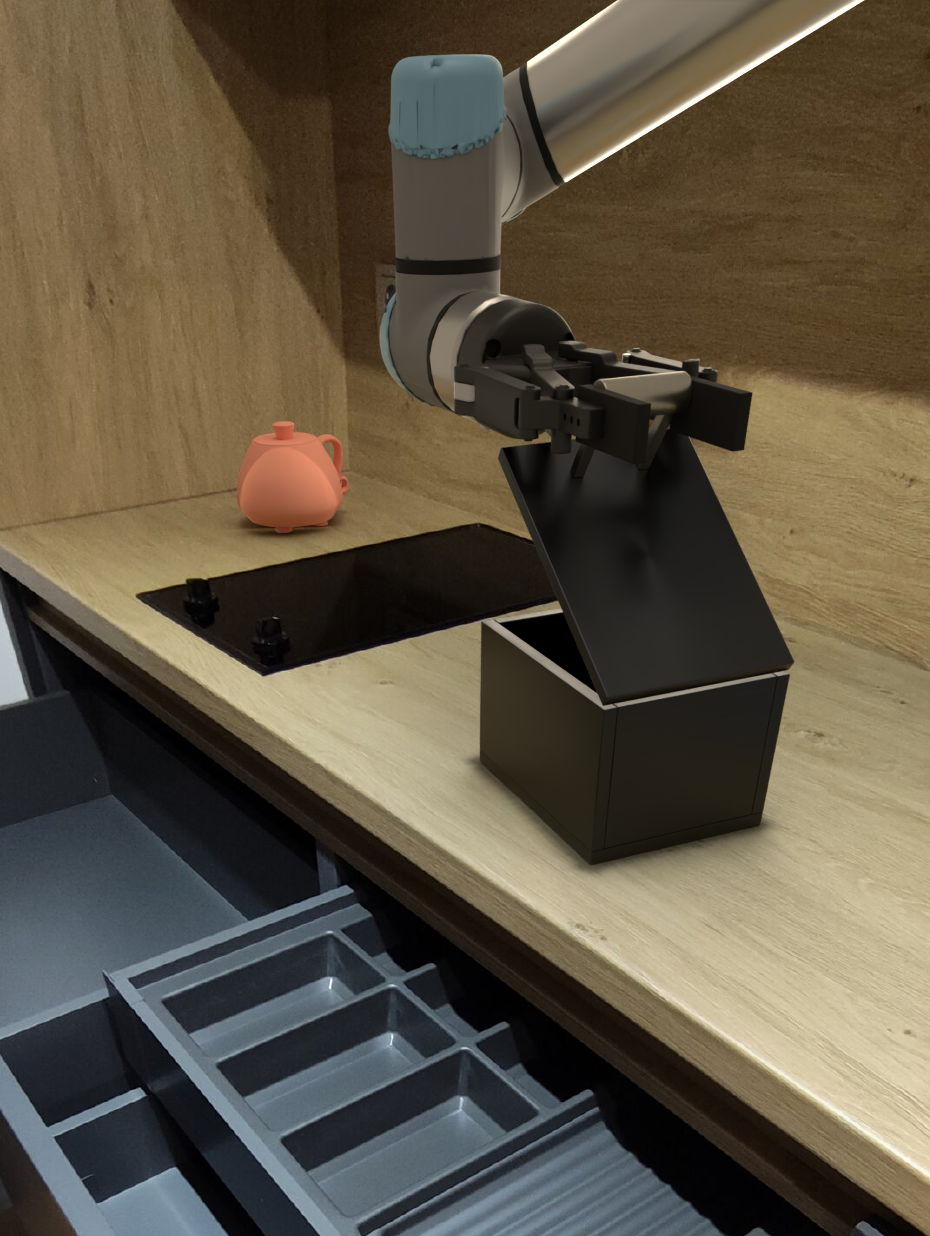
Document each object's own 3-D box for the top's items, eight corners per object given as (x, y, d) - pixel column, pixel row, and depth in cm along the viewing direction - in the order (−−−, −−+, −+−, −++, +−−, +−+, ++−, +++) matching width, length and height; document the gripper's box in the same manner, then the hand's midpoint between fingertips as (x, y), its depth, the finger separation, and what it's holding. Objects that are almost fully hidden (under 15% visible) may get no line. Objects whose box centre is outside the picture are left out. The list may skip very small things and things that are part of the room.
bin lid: (496, 457, 66) (529, 354, 60) (679, 436, 70) (728, 336, 64) (602, 706, 63) (648, 625, 57) (788, 670, 67) (851, 589, 60)
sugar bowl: (223, 519, 132) (210, 420, 125) (325, 501, 138) (318, 405, 131) (270, 543, 124) (259, 438, 117) (376, 522, 130) (371, 421, 123)
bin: (479, 760, 81) (480, 620, 75) (630, 730, 85) (645, 593, 78) (590, 865, 70) (603, 710, 63) (760, 824, 73) (790, 673, 67)
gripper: (619, 416, 80) (821, 486, 64) (380, 443, 75) (534, 527, 59) (630, 288, 75) (851, 329, 59) (374, 307, 70) (540, 358, 54)
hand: (692, 427), depth 59 cm, fingers closed on bin lid, 5 cm apart
